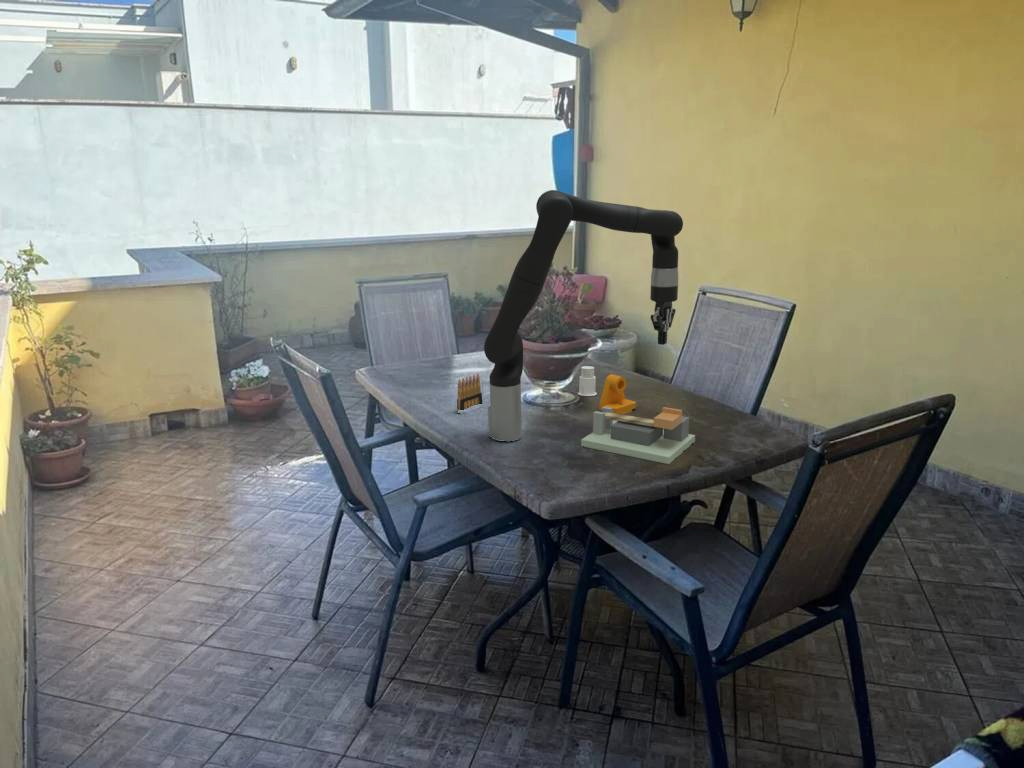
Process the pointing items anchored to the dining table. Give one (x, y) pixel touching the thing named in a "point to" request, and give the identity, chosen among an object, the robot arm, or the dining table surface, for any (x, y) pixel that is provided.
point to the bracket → (616, 395)
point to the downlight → (587, 382)
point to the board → (638, 450)
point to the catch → (668, 418)
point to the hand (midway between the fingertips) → (662, 343)
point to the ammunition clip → (469, 393)
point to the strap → (629, 419)
